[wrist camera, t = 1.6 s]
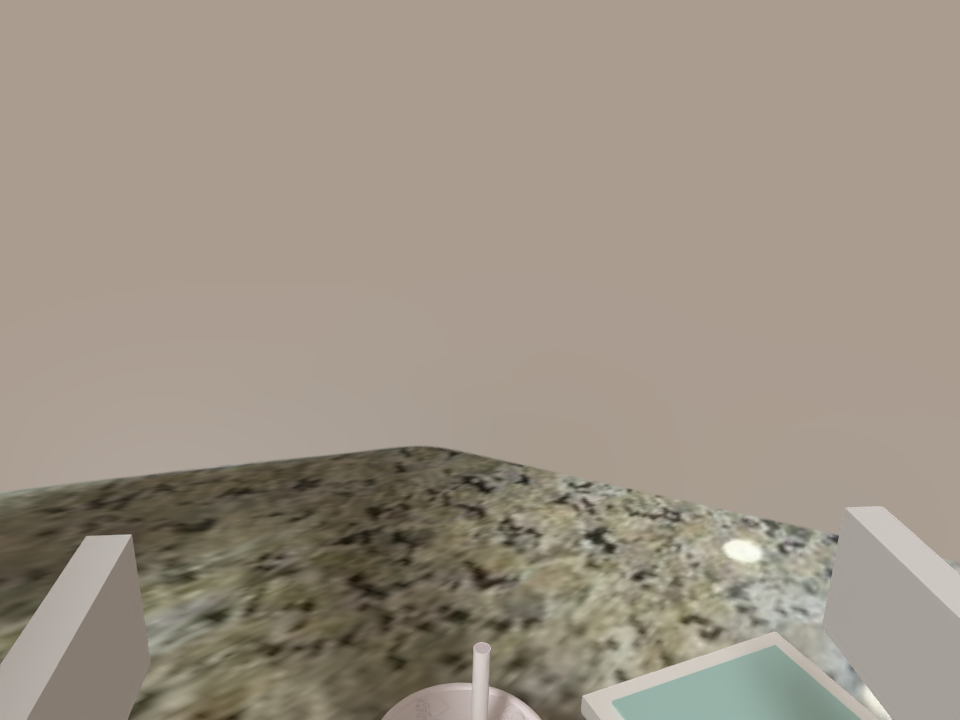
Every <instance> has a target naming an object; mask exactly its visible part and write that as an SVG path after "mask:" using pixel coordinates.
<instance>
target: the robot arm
mask: <svg viewBox="0 0 960 720" xmlns="http://www.w3.org/2000/svg"><path fill="white" fill-rule="evenodd" d="M822 628H823V630H824V631H825V632H826V634H827V635H828V636H829V638H830V639H831V640H832V641H833V643H834V644H835V645H836V647H837V648H838V649H839V650H840V652H841V653H842V654H843V656H844V657H845V658H846V660H847V661H848V662H849V663H850V665H851V666H852V667H853V669H854V670H855V671H856V672H857V674H858V675H859V676H860V678H861V679H862V680H863V682H864V683H865V684H866V685H867V687H868V688H869V689H870V691H871V692H872V693H873V695H874V696H875V697H876V698H877V700H878V701H879V702H880V704H881V705H882V706H883V707H884V709H885V710H886V711H887V713H888V714H889V715H890V717H891V718H892V719H893V720H960V574H959V573H957V572H956V571H955V570H954V569H953V568H952V567H951V566H950V565H948V564H947V563H946V562H945V561H944V560H943V559H942V558H941V557H939V556H938V555H937V554H936V553H935V552H934V551H932V550H931V549H930V548H929V547H928V546H927V545H926V544H925V543H924V542H922V541H921V540H920V539H919V538H918V537H917V536H916V535H915V534H913V533H912V532H911V531H910V530H909V529H908V528H907V527H905V526H904V525H903V524H902V523H901V522H900V521H899V520H898V519H896V518H895V517H894V516H893V515H892V514H891V513H890V512H889V511H887V510H886V509H885V508H884V507H883V506H876V507H875V506H874V507H849V508H848V507H847V508H845V509H844V514H843V520H842V524H841V530H840V535H839V540H838V545H837V551H836V556H835V561H834V566H833V572H832V577H831V582H830V587H829V592H828V598H827V603H826V608H825V613H824V619H823V624H822ZM150 664H151V661H150V654H149V647H148V641H147V634H146V627H145V620H144V613H143V606H142V600H141V593H140V586H139V579H138V572H137V565H136V559H135V552H134V545H133V538H132V534H127V535H100V536H86V537H85V539H84V540H83V542H82V543H81V545H80V546H79V548H78V549H77V551H76V552H75V554H74V555H73V557H72V558H71V560H70V561H69V563H68V564H67V566H66V567H65V569H64V570H63V572H62V573H61V575H60V576H59V578H58V579H57V581H56V582H55V584H54V585H53V587H52V588H51V590H50V591H49V593H48V594H47V596H46V597H45V599H44V600H43V602H42V603H41V605H40V606H39V608H38V609H37V611H36V612H35V614H34V615H33V617H32V618H31V620H30V621H29V623H28V624H27V626H26V627H25V629H24V630H23V632H22V633H21V635H20V636H19V638H18V639H17V641H16V642H15V644H14V645H13V647H12V648H11V650H10V651H9V653H8V654H7V656H6V657H5V659H4V660H3V662H2V663H1V665H0V720H127V719H128V717H129V715H130V712H131V710H132V707H133V705H134V702H135V700H136V698H137V695H138V693H139V690H140V688H141V686H142V683H143V681H144V678H145V676H146V673H147V671H148V669H149V666H150Z"/></svg>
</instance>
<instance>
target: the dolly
mask: <svg viewBox="0 0 960 720" xmlns="http://www.w3.org/2000/svg"><path fill="white" fill-rule="evenodd" d="M581 713H582V714H583V716H584V717H585V718H586V720H879V719H878V718H877V717H876V716H875V715H873V714H872V713H871V712H870V711H869V710H868V709H866V708H865V707H864V706H863V705H862V704H860V703H859V702H858V701H857V700H856V699H855V698H853V697H852V696H851V695H850V694H849V693H847V692H846V691H845V690H844V689H843V688H842V687H840V686H839V685H838V684H837V683H836V682H835V681H833V680H832V679H831V678H830V677H829V676H827V675H826V674H825V673H824V672H823V671H822V670H820V669H819V668H818V667H817V666H816V665H814V664H813V663H812V662H811V661H810V660H809V659H807V658H806V657H805V656H804V655H803V654H802V653H800V652H799V651H798V650H797V649H796V648H794V647H793V646H792V645H791V644H790V643H789V642H787V641H786V640H785V639H784V638H783V637H781V636H780V635H779V634H778V633H777V632H776V631H774V632H771V633H768V634H765V635H762V636H759V637H756V638H753V639H750V640H747V641H744V642H741V643H738V644H735V645H732V646H729V647H726V648H723V649H721V650H718V651H715V652H712V653H709V654H706V655H703V656H700V657H697V658H694V659H691V660H688V661H685V662H682V663H679V664H676V665H673V666H670V667H667V668H664V669H661V670H658V671H655V672H652V673H649V674H646V675H643V676H640V677H637V678H634V679H631V680H628V681H625V682H622V683H619V684H616V685H613V686H610V687H607V688H604V689H601V690H598V691H595V692H592V693H589V694H586V695H583V696H582V706H581Z"/></svg>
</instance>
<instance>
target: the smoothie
mask: <svg viewBox="0 0 960 720" xmlns="http://www.w3.org/2000/svg"><path fill="white" fill-rule="evenodd" d="M490 656H491V647H490V645H489V644H487V643H485V642H479V643H476V644H475V645H474V647H473V674H472V683H457V682H456V683H447V684H440V685H436V686H432V687H428V688H425V689H422V690H420V691H417V692H415V693H413V694H411V695H409V696H408V697H406V698H404V699H403V700H401V701H400V702H398V703H397V704H396V705H395V706H394V707H392V708H391V709H390V710H389V711H388V712H387V713H386V714H385V716H384V717H383V718H382V720H541V718H540V717H539V716H538V715H537V714H536V713H535V712H534V711H533V710H532V709H531V708H530V707H529V706H528V705H527V704H525V703H524V702H523V701H521V700H520V699H518V698H516V697H515V696H513V695H511V694H509V693H507V692H505V691H503V690H500V689H497V688H494V687H491V686H489V677H490Z"/></svg>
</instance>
